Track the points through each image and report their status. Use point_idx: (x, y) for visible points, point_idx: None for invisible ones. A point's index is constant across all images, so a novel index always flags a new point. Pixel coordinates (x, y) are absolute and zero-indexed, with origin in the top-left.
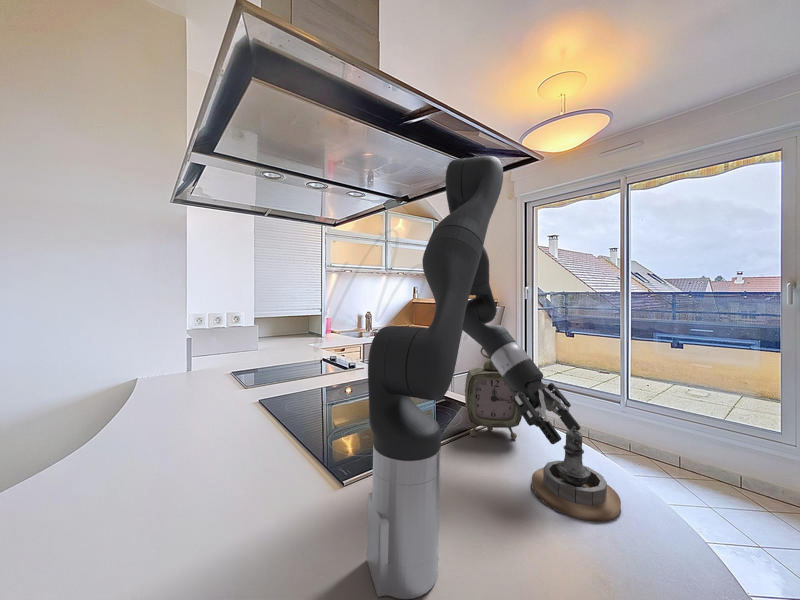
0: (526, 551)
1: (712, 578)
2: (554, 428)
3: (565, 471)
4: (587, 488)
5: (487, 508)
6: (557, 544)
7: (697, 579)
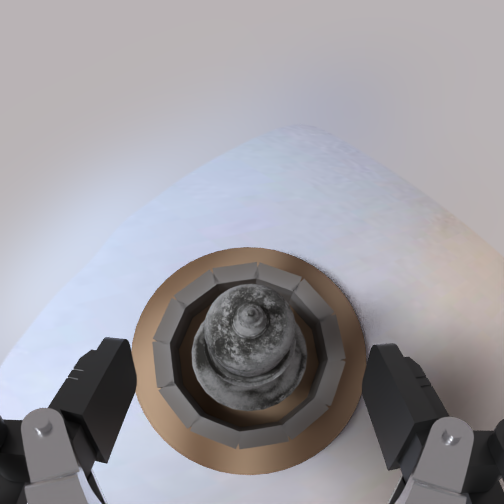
0: (493, 320)
1: (301, 134)
2: (397, 381)
3: (299, 360)
4: (298, 293)
5: None
6: (446, 298)
7: (322, 145)
